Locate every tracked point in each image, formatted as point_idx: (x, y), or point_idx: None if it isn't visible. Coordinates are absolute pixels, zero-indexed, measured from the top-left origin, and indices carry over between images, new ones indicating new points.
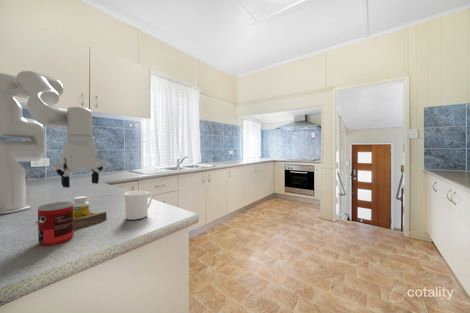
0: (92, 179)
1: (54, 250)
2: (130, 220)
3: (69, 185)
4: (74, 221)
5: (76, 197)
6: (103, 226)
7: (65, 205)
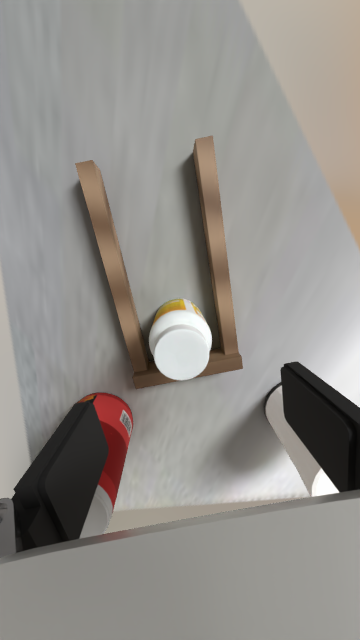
0: (299, 394)
1: None
2: (266, 416)
3: (104, 461)
4: (145, 385)
5: (168, 342)
6: (203, 405)
7: (88, 519)
